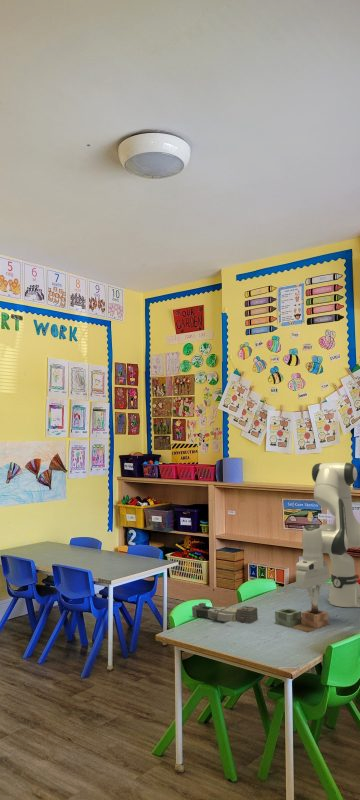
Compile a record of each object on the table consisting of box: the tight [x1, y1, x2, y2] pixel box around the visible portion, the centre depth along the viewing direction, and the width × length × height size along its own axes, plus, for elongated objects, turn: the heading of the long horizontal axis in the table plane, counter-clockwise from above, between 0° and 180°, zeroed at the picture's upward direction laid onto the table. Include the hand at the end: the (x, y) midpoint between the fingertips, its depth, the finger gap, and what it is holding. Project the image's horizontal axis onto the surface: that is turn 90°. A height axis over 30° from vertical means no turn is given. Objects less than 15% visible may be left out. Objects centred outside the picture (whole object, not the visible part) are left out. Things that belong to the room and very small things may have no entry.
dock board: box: [274, 607, 331, 633], centre depth 248 cm, size 16×18×6 cm
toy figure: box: [191, 602, 259, 624], centre depth 260 cm, size 11×7×30 cm
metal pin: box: [310, 587, 319, 613], centre depth 247 cm, size 3×3×10 cm
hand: (314, 595), depth 248 cm, fingers closed on metal pin, 3 cm apart
